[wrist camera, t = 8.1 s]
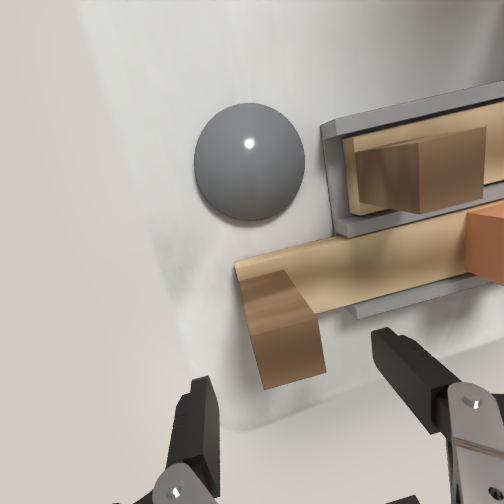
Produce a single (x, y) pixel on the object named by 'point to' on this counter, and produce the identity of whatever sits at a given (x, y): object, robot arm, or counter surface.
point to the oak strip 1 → (426, 162)
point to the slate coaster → (249, 161)
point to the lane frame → (387, 218)
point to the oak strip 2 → (339, 285)
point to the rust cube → (486, 243)
